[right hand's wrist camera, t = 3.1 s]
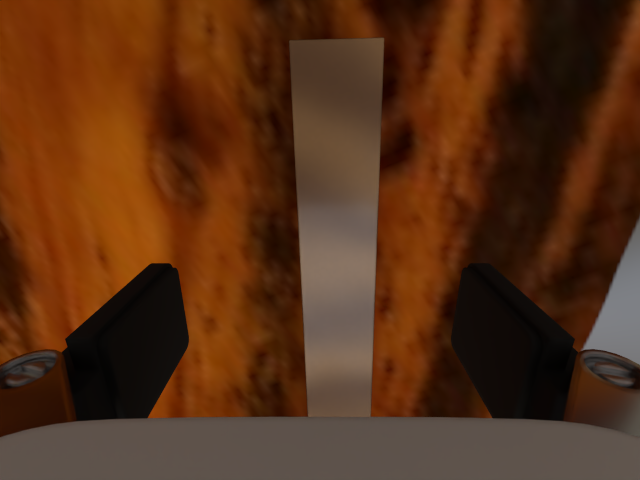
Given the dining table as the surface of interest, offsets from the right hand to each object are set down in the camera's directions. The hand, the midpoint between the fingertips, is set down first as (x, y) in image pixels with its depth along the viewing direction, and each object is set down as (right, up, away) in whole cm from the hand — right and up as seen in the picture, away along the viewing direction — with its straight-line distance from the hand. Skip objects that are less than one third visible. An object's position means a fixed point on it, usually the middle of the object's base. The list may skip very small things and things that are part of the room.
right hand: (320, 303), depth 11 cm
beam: (+2, -14, +22) cm, 26 cm away
